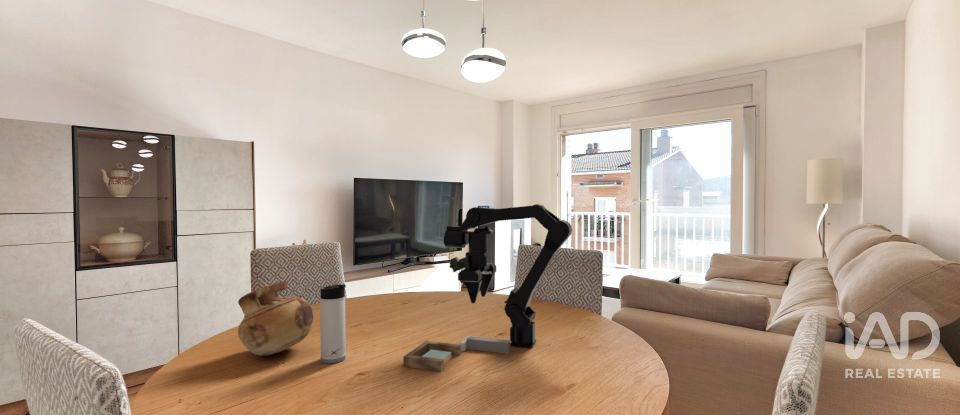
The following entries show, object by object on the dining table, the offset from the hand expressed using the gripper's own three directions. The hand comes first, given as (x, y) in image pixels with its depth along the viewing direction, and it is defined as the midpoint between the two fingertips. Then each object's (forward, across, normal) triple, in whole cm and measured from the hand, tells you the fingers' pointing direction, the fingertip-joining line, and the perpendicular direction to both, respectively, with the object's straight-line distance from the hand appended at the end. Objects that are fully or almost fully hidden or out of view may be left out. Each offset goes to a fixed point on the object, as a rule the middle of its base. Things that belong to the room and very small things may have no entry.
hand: (478, 299), depth 130 cm
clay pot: (+12, +29, -49) cm, 58 cm away
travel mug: (+12, +28, -31) cm, 44 cm away
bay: (+12, +20, -6) cm, 24 cm away
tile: (+12, +20, -5) cm, 24 cm away
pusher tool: (+12, +8, +6) cm, 16 cm away
